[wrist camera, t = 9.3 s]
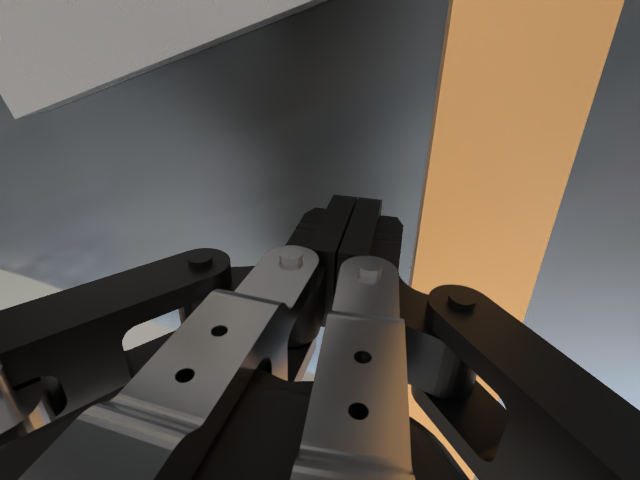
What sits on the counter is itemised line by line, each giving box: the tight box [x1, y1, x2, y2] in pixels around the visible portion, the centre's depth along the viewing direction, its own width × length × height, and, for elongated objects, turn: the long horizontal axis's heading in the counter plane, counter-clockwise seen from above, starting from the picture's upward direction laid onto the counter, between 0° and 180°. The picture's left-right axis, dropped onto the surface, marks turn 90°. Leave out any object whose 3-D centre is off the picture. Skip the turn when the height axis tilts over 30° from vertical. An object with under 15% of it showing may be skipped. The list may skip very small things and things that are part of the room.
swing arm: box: [408, 0, 625, 480], centre depth 10 cm, size 28×4×3 cm, turn 179°
